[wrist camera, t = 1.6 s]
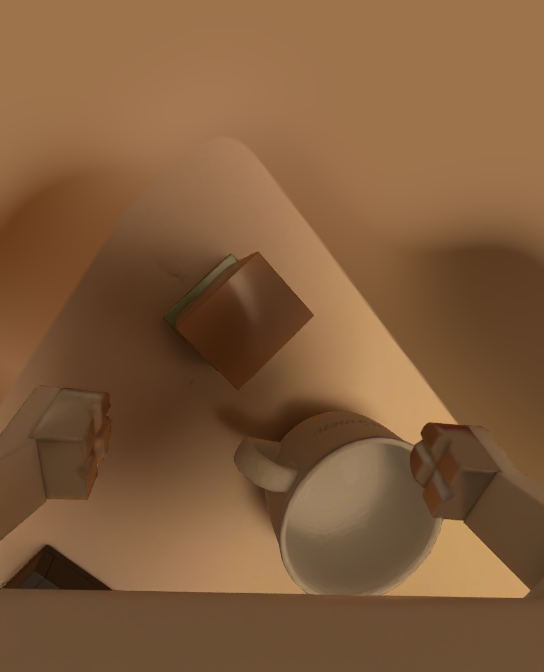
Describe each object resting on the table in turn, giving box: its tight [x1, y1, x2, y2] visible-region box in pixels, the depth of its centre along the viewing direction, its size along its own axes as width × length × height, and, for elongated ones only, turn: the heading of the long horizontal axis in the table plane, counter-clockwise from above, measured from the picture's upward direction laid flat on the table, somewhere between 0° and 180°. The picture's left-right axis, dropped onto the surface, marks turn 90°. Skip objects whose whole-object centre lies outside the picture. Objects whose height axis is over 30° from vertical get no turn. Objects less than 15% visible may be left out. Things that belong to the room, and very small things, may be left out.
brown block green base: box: [163, 252, 314, 390], centre depth 22 cm, size 5×6×10 cm
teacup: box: [234, 411, 443, 596], centre depth 26 cm, size 14×11×8 cm
